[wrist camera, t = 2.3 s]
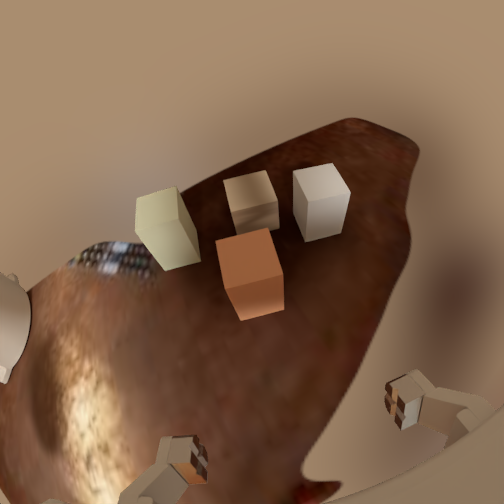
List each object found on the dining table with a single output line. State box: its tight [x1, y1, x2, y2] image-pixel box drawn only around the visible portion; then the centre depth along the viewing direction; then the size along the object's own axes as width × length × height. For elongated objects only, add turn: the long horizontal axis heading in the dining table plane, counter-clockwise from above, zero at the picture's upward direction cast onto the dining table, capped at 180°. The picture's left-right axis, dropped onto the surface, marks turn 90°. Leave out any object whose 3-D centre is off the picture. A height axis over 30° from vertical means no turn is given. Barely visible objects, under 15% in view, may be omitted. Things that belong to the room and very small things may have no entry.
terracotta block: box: [216, 228, 284, 321], centre depth 25 cm, size 4×4×8 cm
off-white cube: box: [223, 170, 279, 235], centre depth 32 cm, size 5×5×5 cm
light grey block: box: [293, 163, 351, 242], centre depth 30 cm, size 4×4×7 cm
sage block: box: [135, 186, 201, 271], centre depth 29 cm, size 4×4×8 cm
